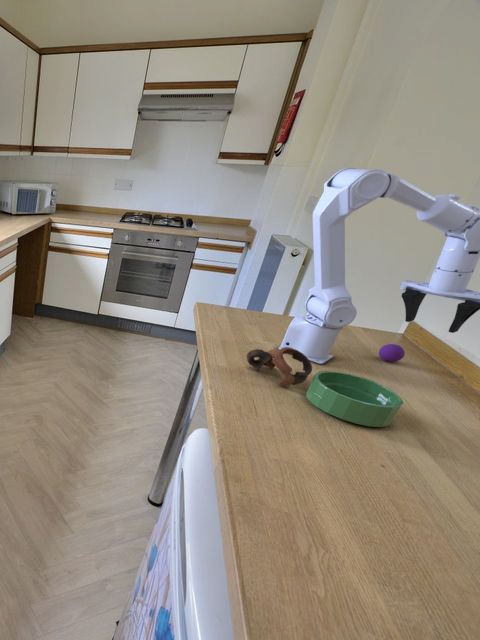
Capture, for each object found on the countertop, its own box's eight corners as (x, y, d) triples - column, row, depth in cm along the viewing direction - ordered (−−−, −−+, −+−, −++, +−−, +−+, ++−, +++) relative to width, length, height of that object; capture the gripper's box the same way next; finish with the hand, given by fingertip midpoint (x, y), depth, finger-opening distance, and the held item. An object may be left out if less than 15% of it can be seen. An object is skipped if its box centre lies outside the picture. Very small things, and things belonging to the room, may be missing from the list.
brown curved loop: (282, 369, 97) (312, 351, 90) (288, 402, 92) (320, 385, 85) (234, 351, 98) (260, 331, 91) (236, 383, 92) (264, 365, 85)
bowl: (294, 402, 83) (304, 381, 81) (318, 385, 90) (328, 365, 88) (378, 438, 74) (392, 415, 71) (398, 415, 80) (411, 394, 78)
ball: (372, 359, 104) (381, 343, 102) (378, 355, 106) (386, 339, 104) (396, 366, 100) (405, 350, 98) (401, 362, 103) (410, 346, 101)
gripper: (513, 273, 85) (484, 333, 91) (421, 260, 98) (401, 313, 103) (495, 278, 83) (466, 339, 89) (403, 264, 95) (384, 318, 101)
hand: (430, 326), depth 96 cm, fingers open, 7 cm apart
